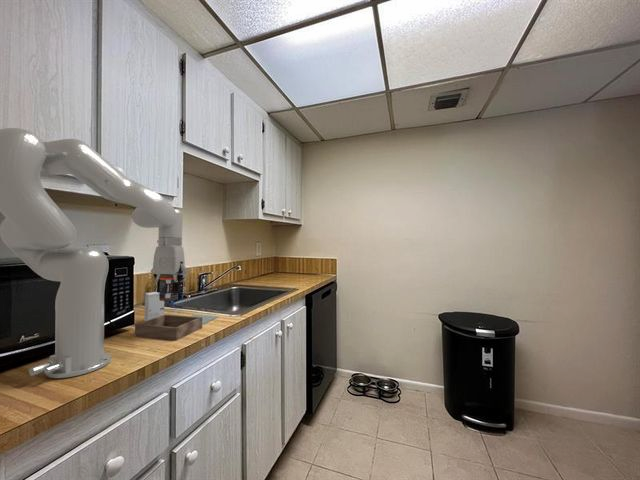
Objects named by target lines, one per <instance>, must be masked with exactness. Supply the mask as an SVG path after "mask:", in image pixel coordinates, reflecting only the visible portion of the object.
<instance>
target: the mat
mask: <svg viewBox="0 0 640 480" xmlns="http://www.w3.org/2000/svg"><path fill="white" fill-rule="evenodd" d="M190 317H202V326H203V325H206V324H207V323H210V322H211V321H214V320H216V319H219V316H215V315H203V314H201V315H200V314H192V315H190Z"/></svg>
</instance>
